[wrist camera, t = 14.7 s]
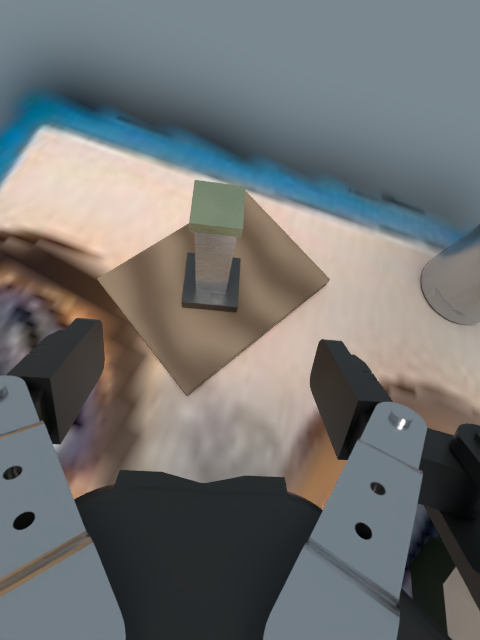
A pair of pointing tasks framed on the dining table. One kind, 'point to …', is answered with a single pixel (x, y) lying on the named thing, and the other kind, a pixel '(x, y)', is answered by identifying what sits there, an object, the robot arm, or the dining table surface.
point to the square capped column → (214, 247)
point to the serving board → (209, 325)
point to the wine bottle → (444, 592)
